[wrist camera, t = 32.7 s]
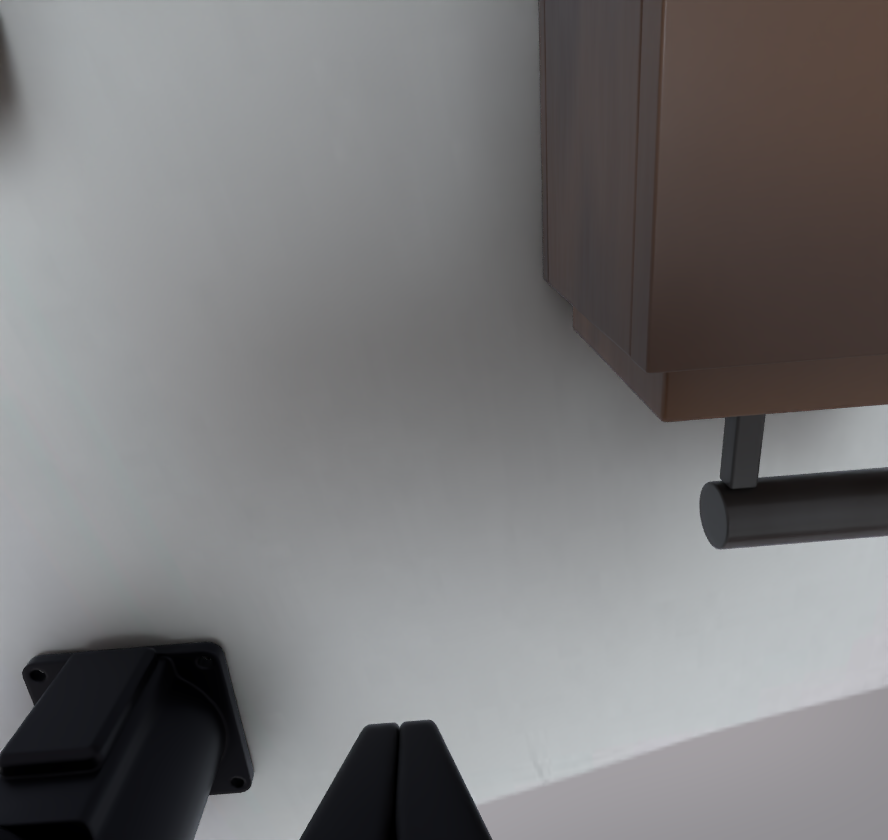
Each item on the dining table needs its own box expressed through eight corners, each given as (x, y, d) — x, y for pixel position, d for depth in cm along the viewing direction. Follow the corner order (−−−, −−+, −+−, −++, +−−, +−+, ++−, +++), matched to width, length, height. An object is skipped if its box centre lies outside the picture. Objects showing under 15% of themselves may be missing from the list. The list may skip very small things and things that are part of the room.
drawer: (929, 441, 18) (1193, 582, 12) (572, 470, 18) (650, 626, 12) (1105, -344, 12) (1825, -886, 6) (571, -303, 12) (727, -799, 6)
